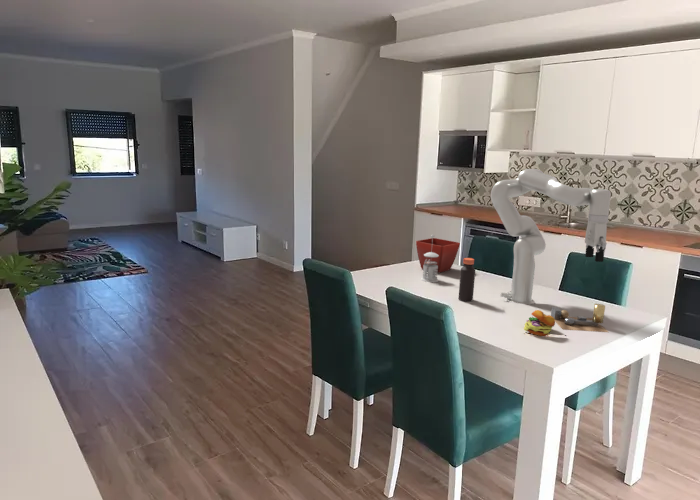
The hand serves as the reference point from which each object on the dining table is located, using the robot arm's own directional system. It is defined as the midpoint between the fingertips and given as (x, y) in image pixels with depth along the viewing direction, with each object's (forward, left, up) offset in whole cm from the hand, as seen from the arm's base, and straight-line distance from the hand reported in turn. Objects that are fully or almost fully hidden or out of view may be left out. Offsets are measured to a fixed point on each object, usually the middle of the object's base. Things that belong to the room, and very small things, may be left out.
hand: (594, 259), depth 215 cm
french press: (-64, +53, -27) cm, 88 cm away
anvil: (-14, -4, -26) cm, 30 cm away
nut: (-11, -4, -26) cm, 28 cm away
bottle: (-49, +19, -27) cm, 59 cm away
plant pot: (-58, +79, -27) cm, 102 cm away
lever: (-5, -11, -25) cm, 28 cm away
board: (-7, -10, -27) cm, 29 cm away
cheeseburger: (-26, -21, -27) cm, 43 cm away
